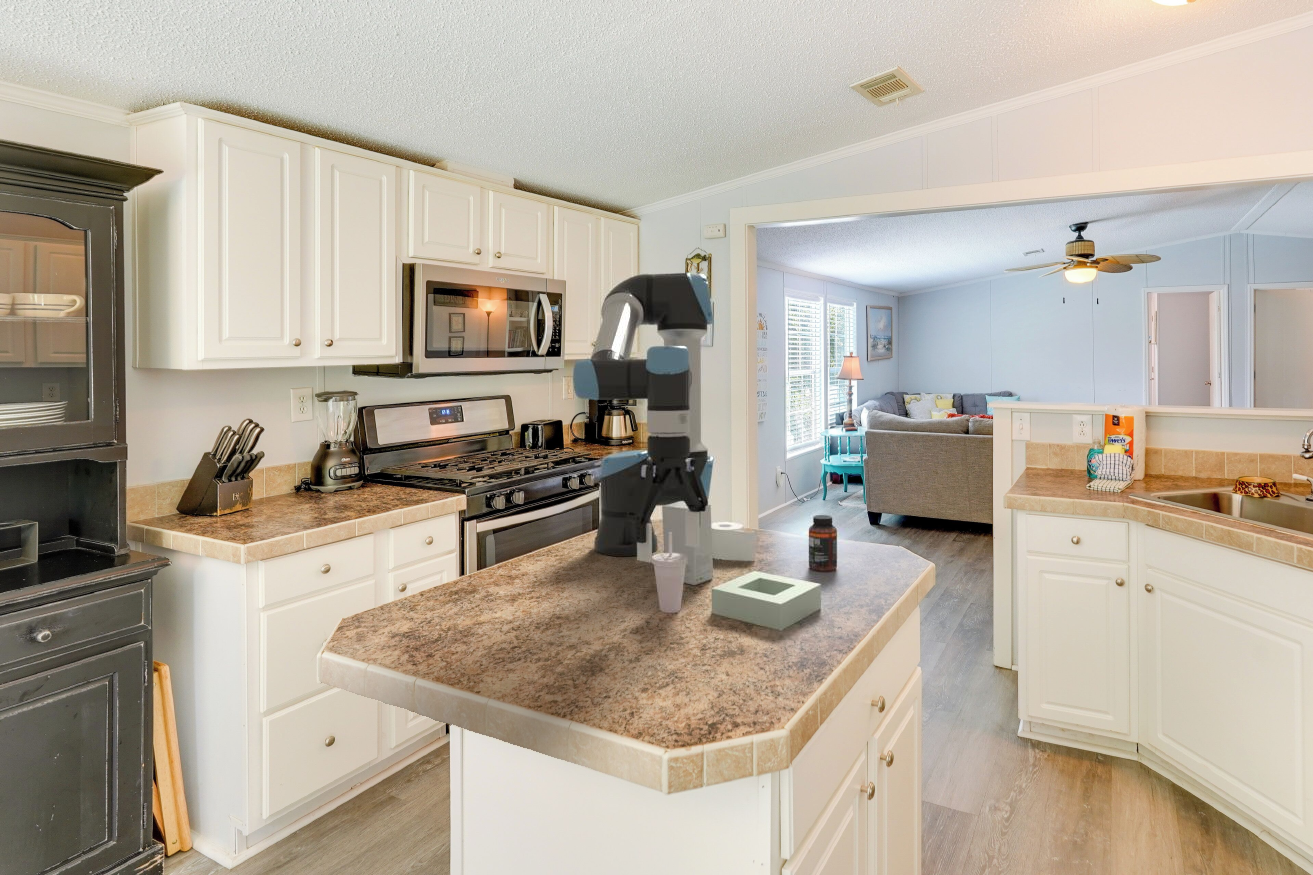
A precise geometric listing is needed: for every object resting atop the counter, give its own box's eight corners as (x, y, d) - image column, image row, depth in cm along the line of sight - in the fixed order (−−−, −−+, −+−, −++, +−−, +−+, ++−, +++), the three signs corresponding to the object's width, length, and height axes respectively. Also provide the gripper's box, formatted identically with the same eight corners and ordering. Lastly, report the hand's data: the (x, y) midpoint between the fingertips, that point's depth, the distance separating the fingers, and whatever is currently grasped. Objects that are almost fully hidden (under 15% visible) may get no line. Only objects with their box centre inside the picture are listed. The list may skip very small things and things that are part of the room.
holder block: (711, 613, 132) (711, 588, 131) (754, 593, 142) (754, 570, 142) (780, 630, 123) (781, 603, 122) (820, 608, 133) (821, 584, 133)
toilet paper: (755, 561, 166) (755, 530, 165) (705, 559, 168) (705, 529, 167) (757, 552, 174) (757, 522, 173) (709, 550, 176) (709, 521, 175)
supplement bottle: (834, 564, 162) (835, 513, 161) (838, 572, 156) (839, 519, 155) (807, 564, 163) (807, 513, 161) (809, 572, 157) (810, 519, 156)
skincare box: (713, 579, 152) (713, 504, 150) (693, 586, 147) (692, 509, 146) (683, 572, 158) (682, 499, 156) (661, 578, 153) (661, 504, 151)
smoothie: (692, 605, 136) (691, 530, 134) (682, 617, 130) (681, 538, 128) (659, 602, 138) (658, 528, 136) (647, 613, 132) (646, 535, 130)
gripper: (637, 440, 119) (639, 571, 120) (726, 430, 138) (726, 543, 140) (603, 438, 123) (605, 563, 125) (694, 429, 143) (694, 538, 144)
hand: (669, 553), depth 132 cm, fingers open, 13 cm apart
